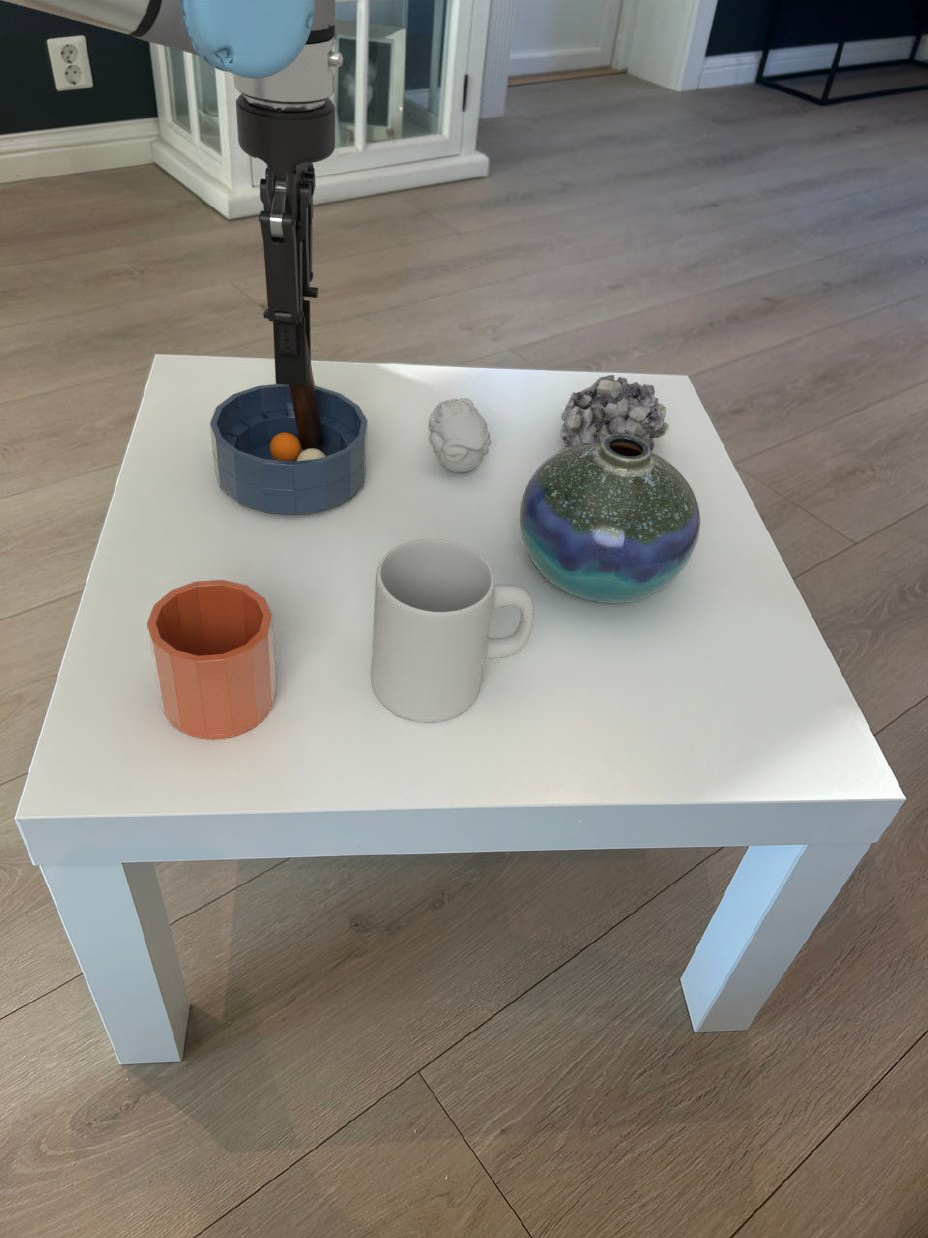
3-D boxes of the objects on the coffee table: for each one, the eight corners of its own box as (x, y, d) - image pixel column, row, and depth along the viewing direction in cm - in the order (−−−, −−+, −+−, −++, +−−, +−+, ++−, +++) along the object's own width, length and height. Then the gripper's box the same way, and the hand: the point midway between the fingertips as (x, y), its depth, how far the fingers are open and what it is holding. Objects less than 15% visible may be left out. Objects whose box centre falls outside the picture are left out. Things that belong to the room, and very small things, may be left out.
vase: (668, 528, 93) (704, 406, 84) (693, 638, 82) (737, 510, 73) (510, 514, 92) (529, 389, 83) (512, 622, 81) (535, 492, 72)
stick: (297, 455, 95) (260, 272, 82) (311, 443, 96) (278, 261, 84) (316, 461, 94) (282, 276, 81) (331, 449, 95) (299, 265, 83)
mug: (376, 727, 71) (382, 618, 64) (365, 647, 77) (369, 538, 70) (534, 716, 73) (556, 609, 66) (510, 639, 80) (529, 533, 72)
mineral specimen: (556, 446, 95) (610, 355, 93) (528, 427, 103) (577, 342, 101) (650, 501, 100) (704, 415, 97) (617, 478, 108) (666, 398, 106)
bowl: (202, 512, 88) (196, 456, 84) (232, 430, 99) (228, 376, 95) (357, 525, 89) (358, 471, 85) (371, 442, 99) (372, 390, 95)
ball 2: (296, 486, 92) (289, 459, 93) (326, 485, 93) (319, 458, 94) (305, 471, 89) (297, 442, 90) (335, 469, 91) (327, 441, 92)
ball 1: (272, 458, 95) (260, 455, 92) (283, 429, 95) (271, 425, 92) (298, 469, 95) (288, 467, 92) (310, 441, 94) (299, 437, 92)
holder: (149, 736, 69) (133, 656, 63) (177, 653, 75) (165, 574, 69) (264, 744, 69) (259, 666, 64) (283, 662, 75) (279, 584, 70)
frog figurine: (463, 442, 101) (469, 382, 96) (500, 477, 97) (509, 416, 92) (413, 456, 98) (417, 395, 94) (449, 492, 94) (455, 430, 89)
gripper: (322, 131, 68) (323, 422, 84) (345, 75, 79) (343, 340, 95) (215, 120, 68) (237, 414, 84) (254, 65, 79) (266, 333, 95)
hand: (293, 374), depth 89 cm, fingers closed on stick, 2 cm apart
